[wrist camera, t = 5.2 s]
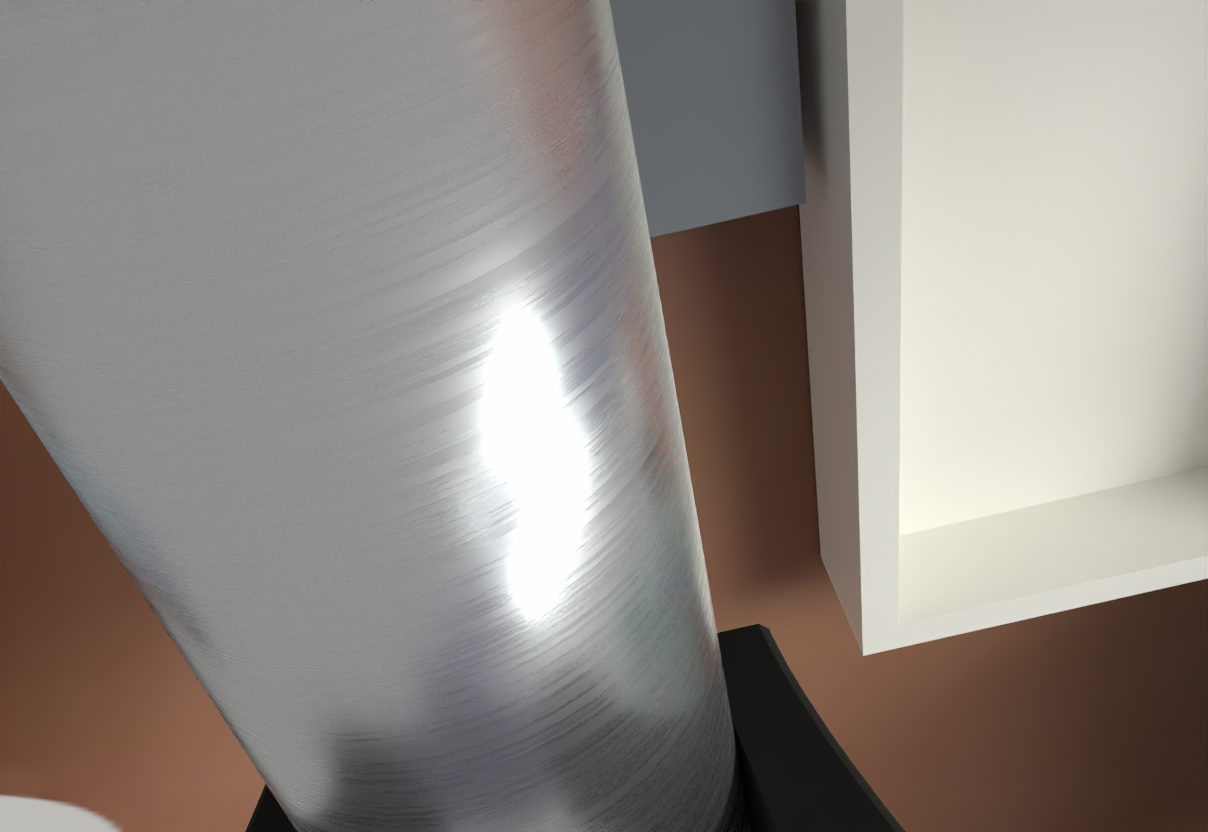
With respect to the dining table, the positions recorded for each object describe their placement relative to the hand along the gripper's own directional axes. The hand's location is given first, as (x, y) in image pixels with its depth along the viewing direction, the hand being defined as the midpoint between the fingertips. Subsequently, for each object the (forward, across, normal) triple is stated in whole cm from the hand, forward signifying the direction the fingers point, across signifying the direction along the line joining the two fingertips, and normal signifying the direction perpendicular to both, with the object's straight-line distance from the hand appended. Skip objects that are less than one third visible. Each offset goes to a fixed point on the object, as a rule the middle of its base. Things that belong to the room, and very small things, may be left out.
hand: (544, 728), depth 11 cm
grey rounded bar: (+1, 0, -3) cm, 3 cm away
